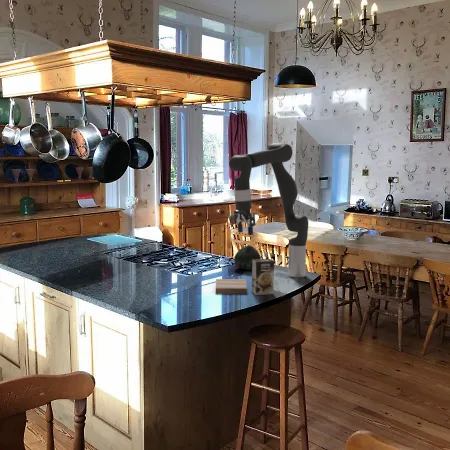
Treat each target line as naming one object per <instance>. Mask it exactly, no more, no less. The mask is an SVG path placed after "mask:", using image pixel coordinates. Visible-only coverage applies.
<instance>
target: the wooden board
mask: <svg viewBox="0 0 450 450" xmlns="http://www.w3.org/2000/svg"><path fill="white" fill-rule="evenodd" d="M215 294H238V295H239V294H248V286H247V279H245V278H242V279H239V278H238V279H237V278H235V279H233V278H228V279H227V278H215Z"/></svg>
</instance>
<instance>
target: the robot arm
mask: <svg viewBox="0 0 450 450" xmlns="http://www.w3.org/2000/svg"><path fill="white" fill-rule="evenodd" d="M292 157H293V149H292V146H291V145H290V144H288V143H281V142H279V143H271V144H269V146H268V148H267V150H258V151H253V152H250V153H246V154H237V155H233V156H232V157H231V158H230V159H229V161H228V166H229V169H231V170H232V171H234V172H240V175H239V176H236V177H235V178H234V180H233V182H234V185H233V187H234V204H235V205H234V206H235V207H234V208H235V210H233V220H234V224H236V225H237V232H238V233H239V234H240V233H243V232H244V231H243V230H244V229H243V227H244V226H243V222H244V223H245V225H247V235H248V236H252V235H254V226H256V225H257V224H256V216H255V212H251V210H252V207H253V206H252V204H253V203H252V193H251V185H250V180H251V179H250V178H251V173H252V169H255V168H258V167H262V166H265V165H269V164H270V165H271V167H272V170H273V173H274V176H275V179H276V183H277V187H278V193H279V197H280V199H281V203H282V208H283V212H284V219H285V225H286V229H287V230H288V231H290V232H294V233H297V234H296V236H295V237H291V238H289V239H288V261H287V262H288V265H287V266H288V268H287V276H288V277H291V278H304V277H306V264H307V263H306V259H307V254H306V253H307V240H308V235H309V218H308V217H307V216H305V215H302V214H295V213H296V212H295V209H294V205H295V202H296V200H297V198H298V193H299V192H298V187H297V184H296V181H295V179H294V178H293V176H292V175H291V174H290V173H289V172H288V170H287V169H286V167H285V166H284V163H286V162H289V161H291V158H292Z"/></svg>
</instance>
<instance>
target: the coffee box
mask: <svg viewBox="0 0 450 450" xmlns="http://www.w3.org/2000/svg"><path fill="white" fill-rule="evenodd" d="M251 272H252V273H251V293H253V295H255V296H260V295H264V296H265V295H273V294H274V285H275V284H274V282H275V279H274V278H275V277H274V276H275V261H274V260H273V259H271V258H261V259H253V265H252V270H251Z"/></svg>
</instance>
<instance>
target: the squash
mask: <svg viewBox="0 0 450 450" xmlns="http://www.w3.org/2000/svg"><path fill="white" fill-rule="evenodd" d="M233 258H234V259H233V260H234V264H235V266H236V267H237V268H238V269H241V270H246V271H247V272H249V271H252V265H253V259H262V258H261V254H260V252H259V251H258V250H257V249H256V248H255V247H254V246H252V245H245V246H244V247H241V248H240V249H239V250H238V251H237V252H236V253H235V255H234V257H233Z"/></svg>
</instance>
